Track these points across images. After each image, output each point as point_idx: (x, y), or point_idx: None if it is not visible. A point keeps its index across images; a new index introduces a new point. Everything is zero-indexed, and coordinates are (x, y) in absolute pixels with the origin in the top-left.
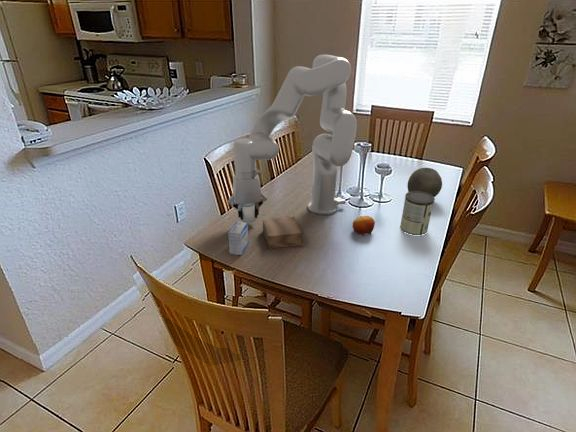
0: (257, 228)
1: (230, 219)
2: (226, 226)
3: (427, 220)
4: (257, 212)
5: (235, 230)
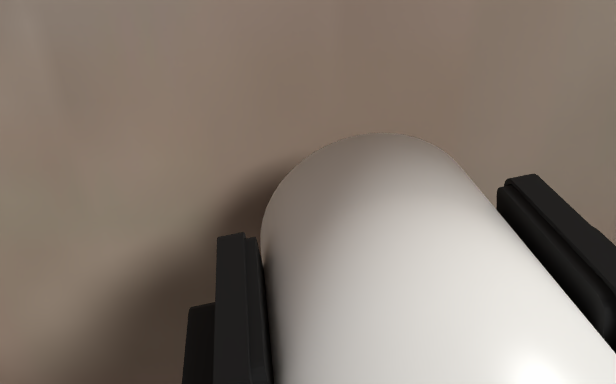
0: None
1: (4, 25)
2: (11, 254)
3: None
4: None
5: None
